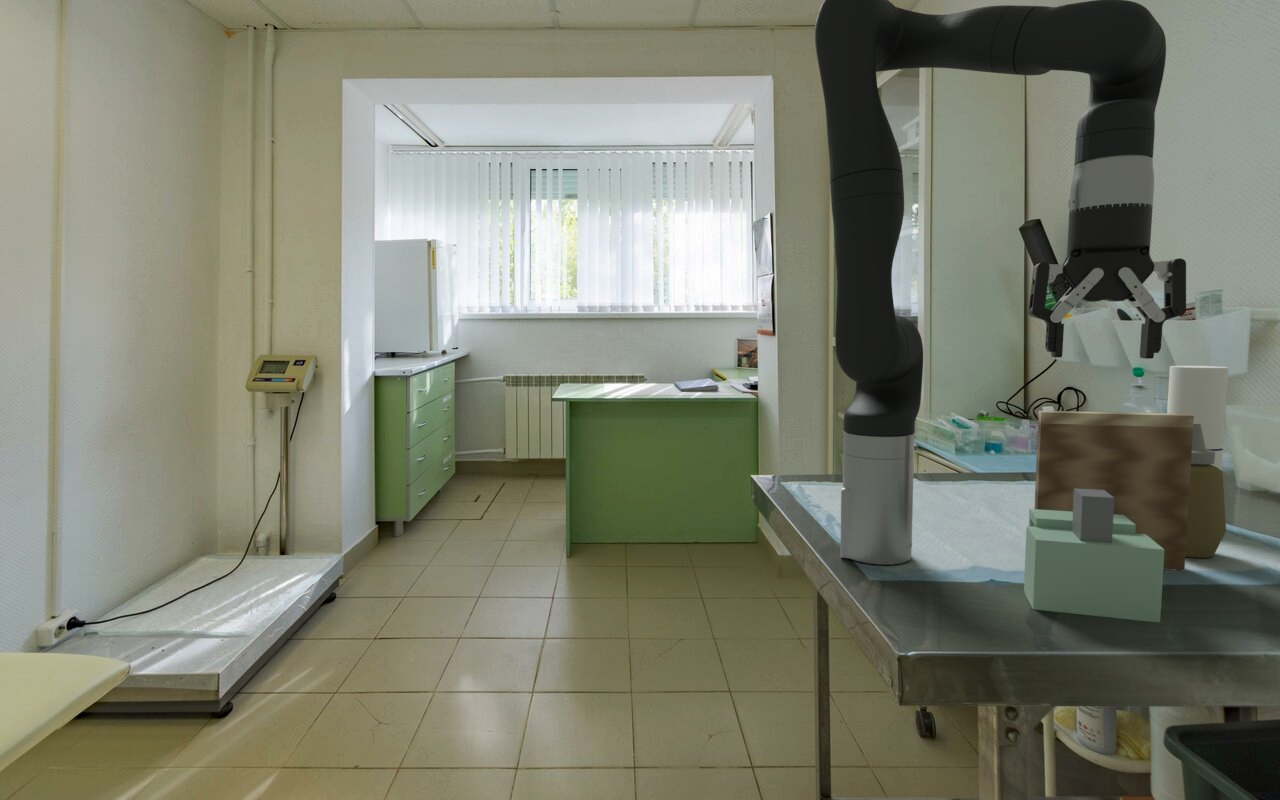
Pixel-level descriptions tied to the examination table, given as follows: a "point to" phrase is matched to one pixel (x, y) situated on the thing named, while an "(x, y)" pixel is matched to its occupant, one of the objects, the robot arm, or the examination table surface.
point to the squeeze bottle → (1204, 501)
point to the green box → (1092, 561)
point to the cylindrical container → (1201, 401)
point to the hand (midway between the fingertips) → (1100, 357)
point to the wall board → (1121, 469)
